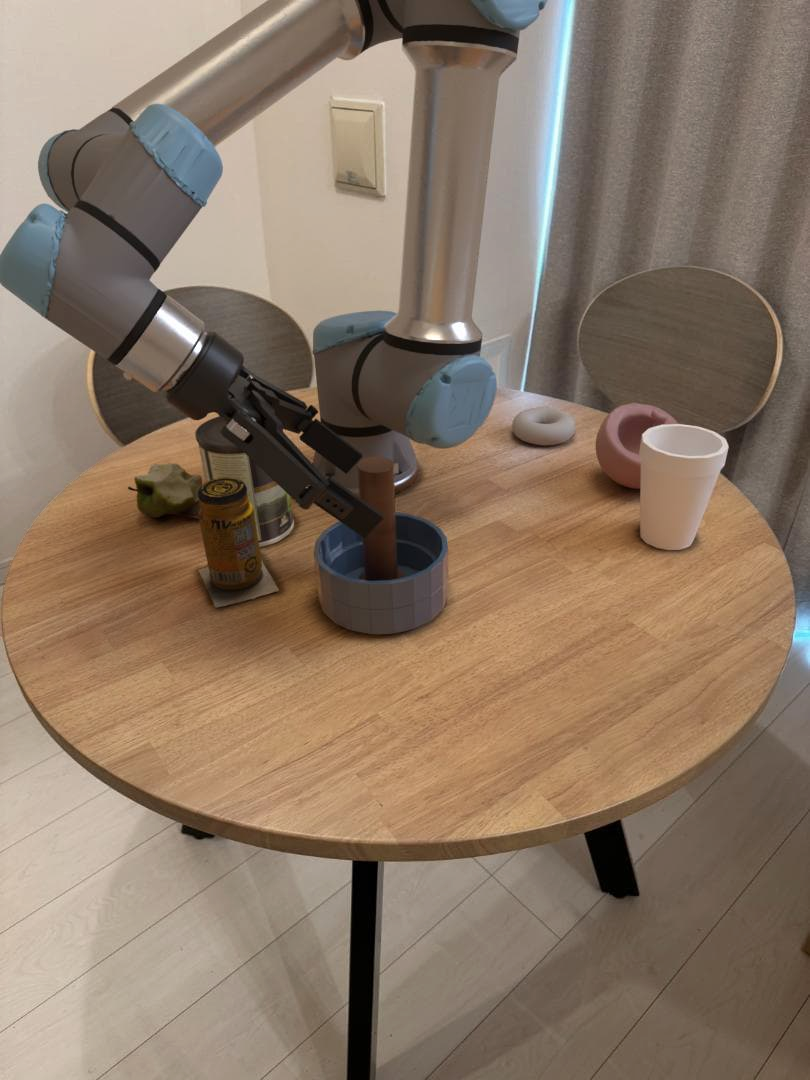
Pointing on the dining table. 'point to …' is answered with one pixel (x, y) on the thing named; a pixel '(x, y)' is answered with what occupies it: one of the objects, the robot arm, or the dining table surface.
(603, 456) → the pink hollowed ball
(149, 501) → the fruit
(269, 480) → the coffee can
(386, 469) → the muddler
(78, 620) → the dining table surface
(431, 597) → the bowl
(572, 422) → the donut
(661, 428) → the foam cup
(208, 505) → the condiment
